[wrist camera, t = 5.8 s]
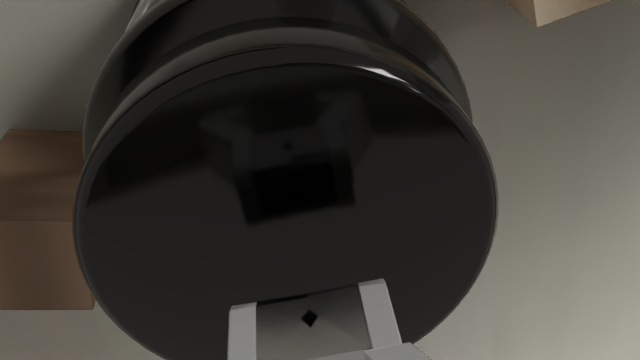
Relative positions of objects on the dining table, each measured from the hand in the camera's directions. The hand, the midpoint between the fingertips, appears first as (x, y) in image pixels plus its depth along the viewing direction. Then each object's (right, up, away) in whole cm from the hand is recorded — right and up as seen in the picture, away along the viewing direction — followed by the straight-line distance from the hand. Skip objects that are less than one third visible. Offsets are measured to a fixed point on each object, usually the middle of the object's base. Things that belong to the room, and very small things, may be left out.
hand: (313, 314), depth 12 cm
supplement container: (-2, +8, +12) cm, 14 cm away
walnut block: (-11, +3, +14) cm, 17 cm away
